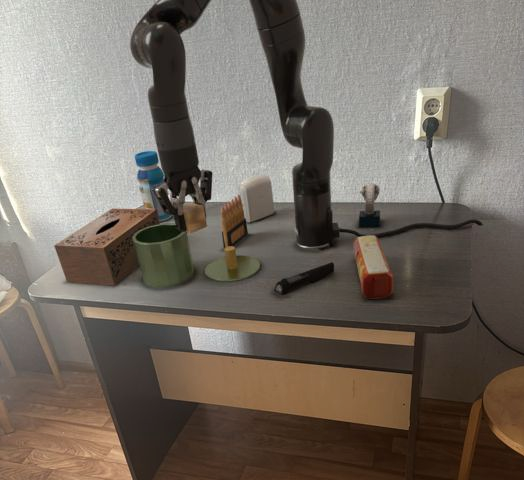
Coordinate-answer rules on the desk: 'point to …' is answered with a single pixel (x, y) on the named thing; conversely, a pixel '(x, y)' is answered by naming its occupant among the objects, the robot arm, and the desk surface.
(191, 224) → the block
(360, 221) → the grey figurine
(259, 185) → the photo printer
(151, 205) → the beverage bottle
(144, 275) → the canister
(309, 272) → the electric trimmer
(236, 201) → the ammunition clip
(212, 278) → the lid
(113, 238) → the tissue box cover
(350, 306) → the desk surface
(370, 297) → the snack package
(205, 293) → the desk surface
